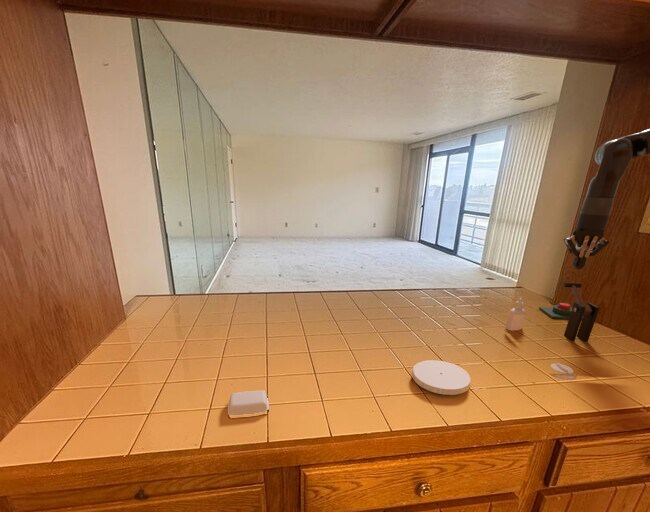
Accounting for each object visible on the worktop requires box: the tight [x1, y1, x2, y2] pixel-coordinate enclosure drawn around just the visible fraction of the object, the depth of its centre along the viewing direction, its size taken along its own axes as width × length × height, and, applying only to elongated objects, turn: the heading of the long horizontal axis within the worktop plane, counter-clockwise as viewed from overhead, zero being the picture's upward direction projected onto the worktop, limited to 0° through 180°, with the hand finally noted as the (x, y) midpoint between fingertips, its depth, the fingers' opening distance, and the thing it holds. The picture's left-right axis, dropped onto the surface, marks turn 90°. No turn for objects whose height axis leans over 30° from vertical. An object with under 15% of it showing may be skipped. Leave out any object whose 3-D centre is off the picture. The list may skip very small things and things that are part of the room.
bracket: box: [563, 301, 600, 343], centre depth 109 cm, size 10×8×13 cm
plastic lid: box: [411, 359, 472, 396], centre depth 88 cm, size 14×14×2 cm
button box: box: [538, 304, 583, 321], centre depth 131 cm, size 12×10×4 cm
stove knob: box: [549, 362, 578, 381], centre depth 93 cm, size 7×7×2 cm
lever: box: [562, 282, 592, 316], centre depth 111 cm, size 13×5×2 cm, turn 175°
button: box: [558, 302, 571, 310], centre depth 130 cm, size 4×4×2 cm
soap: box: [227, 389, 270, 416], centre depth 76 cm, size 9×7×3 cm
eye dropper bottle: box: [504, 297, 527, 334], centre depth 116 cm, size 4×6×12 cm
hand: (577, 268), depth 112 cm, fingers closed
